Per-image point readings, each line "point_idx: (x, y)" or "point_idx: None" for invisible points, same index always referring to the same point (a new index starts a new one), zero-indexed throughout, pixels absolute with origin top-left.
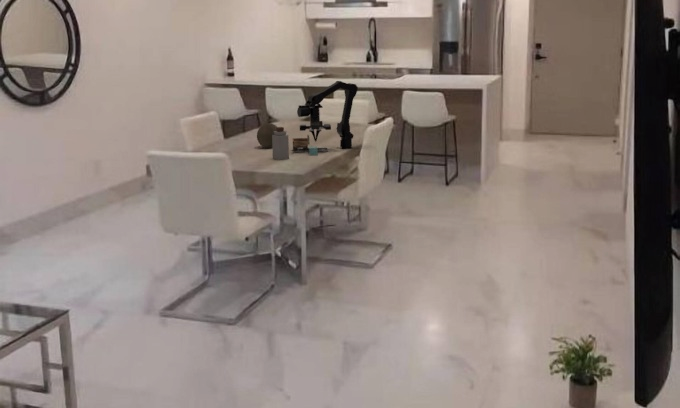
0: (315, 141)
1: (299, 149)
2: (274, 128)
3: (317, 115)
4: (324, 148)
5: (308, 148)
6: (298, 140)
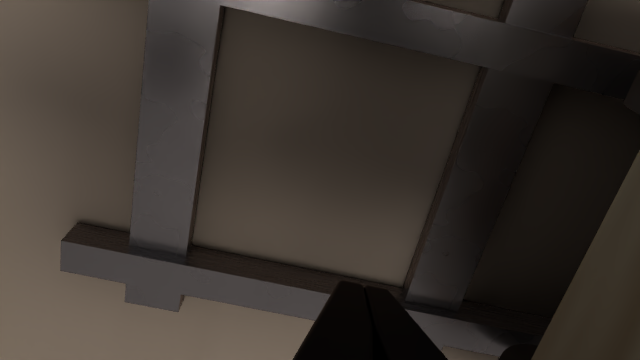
0: (369, 285)
1: None
2: None
3: None
4: (130, 248)
5: (467, 321)
6: None
